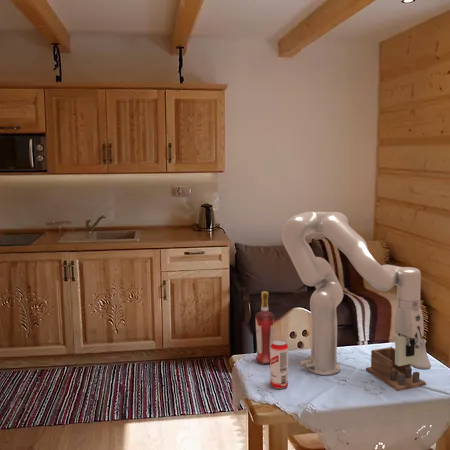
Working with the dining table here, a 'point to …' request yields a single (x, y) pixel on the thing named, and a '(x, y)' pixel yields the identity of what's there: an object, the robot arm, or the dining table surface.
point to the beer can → (279, 364)
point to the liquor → (264, 331)
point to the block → (401, 352)
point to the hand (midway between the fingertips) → (407, 354)
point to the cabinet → (393, 370)
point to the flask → (422, 357)
